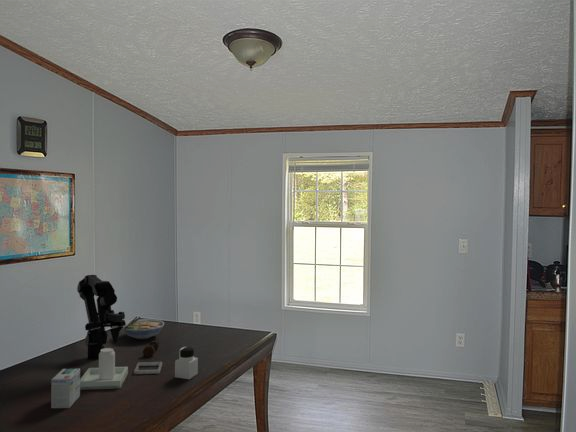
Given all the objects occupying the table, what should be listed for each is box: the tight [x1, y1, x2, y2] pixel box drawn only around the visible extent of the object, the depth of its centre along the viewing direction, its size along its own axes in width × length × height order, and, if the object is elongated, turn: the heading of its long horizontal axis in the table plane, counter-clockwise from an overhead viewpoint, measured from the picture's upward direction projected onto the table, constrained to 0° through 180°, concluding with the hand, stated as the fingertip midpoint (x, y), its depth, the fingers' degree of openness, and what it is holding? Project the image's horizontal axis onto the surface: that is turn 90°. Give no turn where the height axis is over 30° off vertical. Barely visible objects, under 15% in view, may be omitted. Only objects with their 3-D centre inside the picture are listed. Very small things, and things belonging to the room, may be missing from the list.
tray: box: [80, 366, 129, 391], centre depth 192 cm, size 16×16×3 cm
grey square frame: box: [133, 361, 163, 375], centre depth 206 cm, size 11×11×2 cm
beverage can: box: [98, 347, 116, 380], centre depth 192 cm, size 6×6×12 cm
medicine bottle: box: [174, 346, 199, 380], centre depth 199 cm, size 7×7×12 cm
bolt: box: [142, 340, 160, 358], centre depth 230 cm, size 6×5×15 cm
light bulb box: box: [50, 368, 81, 409], centre depth 171 cm, size 11×7×11 cm, turn 5°
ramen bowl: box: [121, 316, 165, 340], centre depth 254 cm, size 25×23×8 cm
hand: (108, 344), depth 206 cm, fingers open, 9 cm apart
